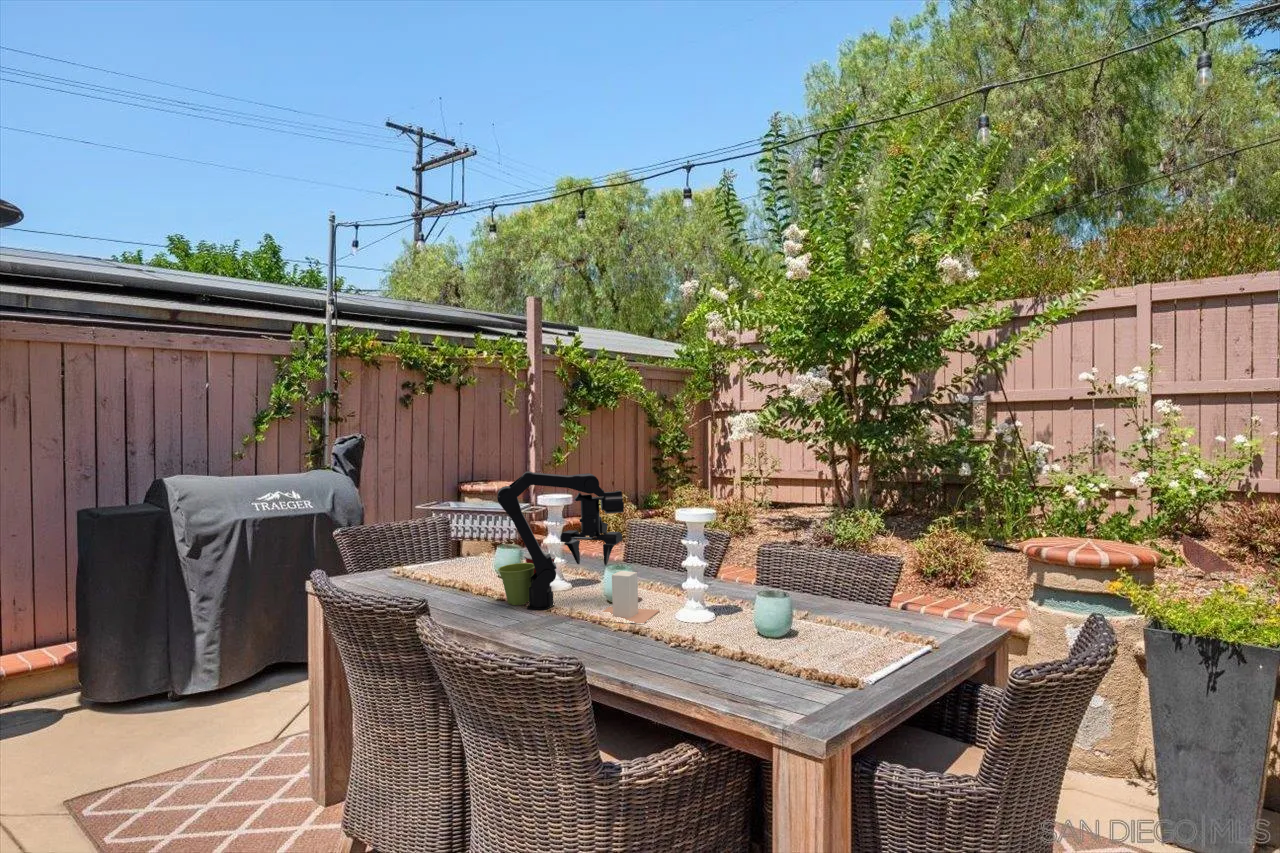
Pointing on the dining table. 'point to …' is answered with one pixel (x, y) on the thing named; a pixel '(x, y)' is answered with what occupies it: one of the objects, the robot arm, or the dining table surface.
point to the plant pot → (517, 582)
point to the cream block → (625, 594)
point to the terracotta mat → (638, 618)
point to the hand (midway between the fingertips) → (592, 564)
